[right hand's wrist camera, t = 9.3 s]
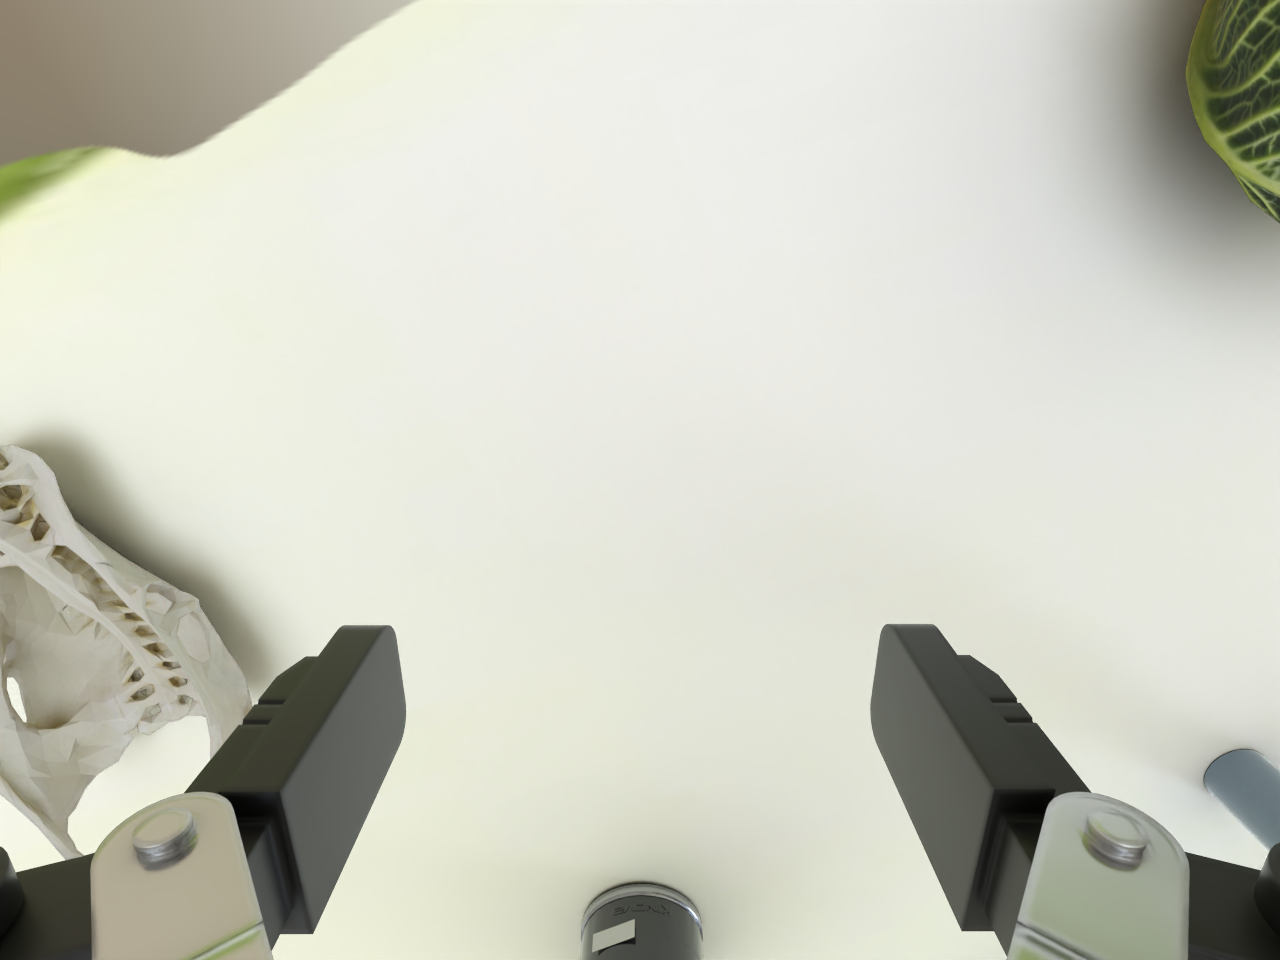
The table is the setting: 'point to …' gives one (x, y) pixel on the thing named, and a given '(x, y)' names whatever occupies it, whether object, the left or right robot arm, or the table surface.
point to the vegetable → (1240, 92)
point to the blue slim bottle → (1248, 792)
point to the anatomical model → (90, 653)
